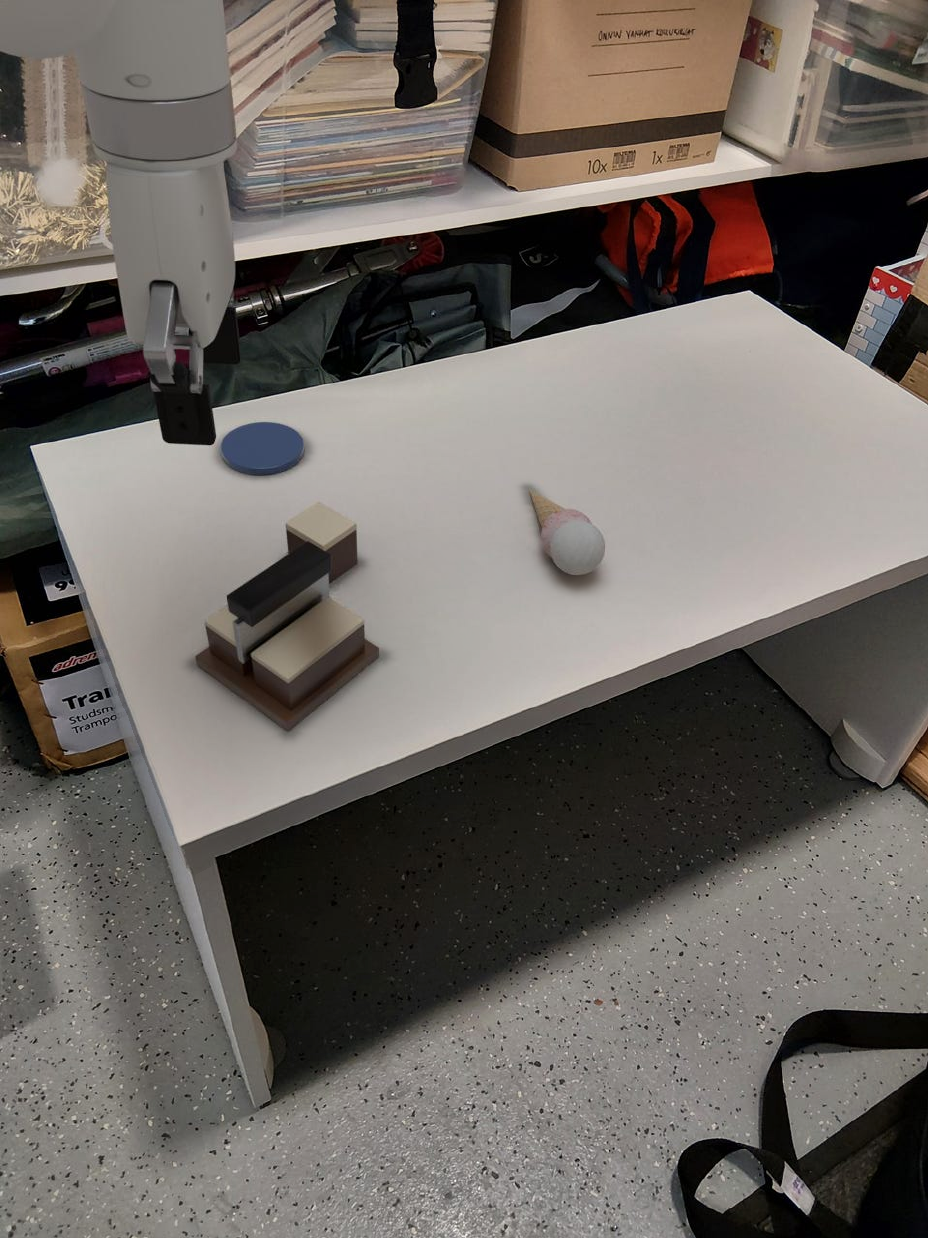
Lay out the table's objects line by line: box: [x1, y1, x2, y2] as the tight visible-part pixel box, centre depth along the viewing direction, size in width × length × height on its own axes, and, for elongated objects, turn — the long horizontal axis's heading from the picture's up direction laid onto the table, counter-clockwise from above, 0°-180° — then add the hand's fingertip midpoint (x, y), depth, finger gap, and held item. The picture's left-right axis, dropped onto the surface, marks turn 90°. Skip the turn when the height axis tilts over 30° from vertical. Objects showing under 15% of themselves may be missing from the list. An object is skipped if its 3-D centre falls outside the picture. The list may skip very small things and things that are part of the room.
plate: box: [220, 421, 305, 476], centre depth 92 cm, size 8×8×1 cm
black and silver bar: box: [226, 541, 332, 664], centre depth 69 cm, size 9×2×6 cm, turn 142°
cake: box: [194, 596, 380, 732], centre depth 72 cm, size 10×10×4 cm
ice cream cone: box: [528, 489, 606, 576], centre depth 85 cm, size 5×5×15 cm
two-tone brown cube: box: [285, 501, 358, 584], centre depth 80 cm, size 4×4×4 cm
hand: (205, 399), depth 62 cm, fingers open, 9 cm apart
